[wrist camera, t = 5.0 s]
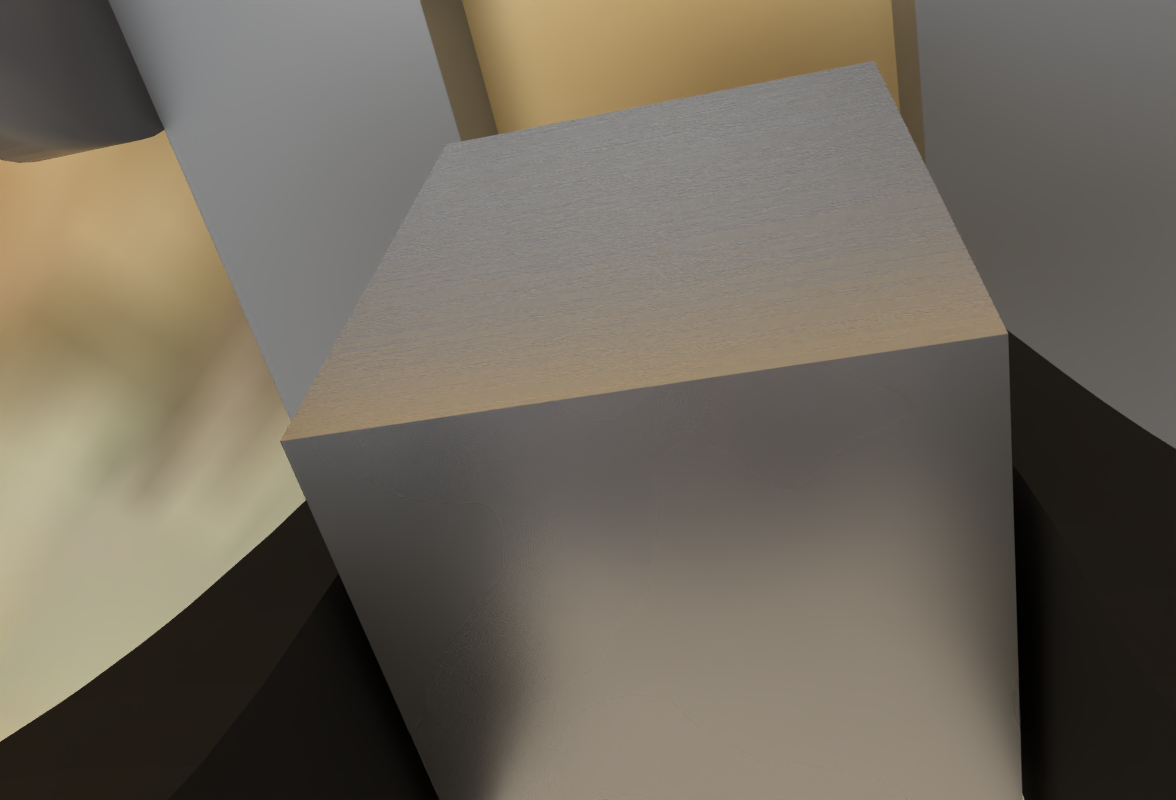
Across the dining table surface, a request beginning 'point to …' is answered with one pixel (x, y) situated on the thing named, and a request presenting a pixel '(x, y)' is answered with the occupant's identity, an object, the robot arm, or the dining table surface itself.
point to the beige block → (682, 462)
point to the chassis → (617, 82)
